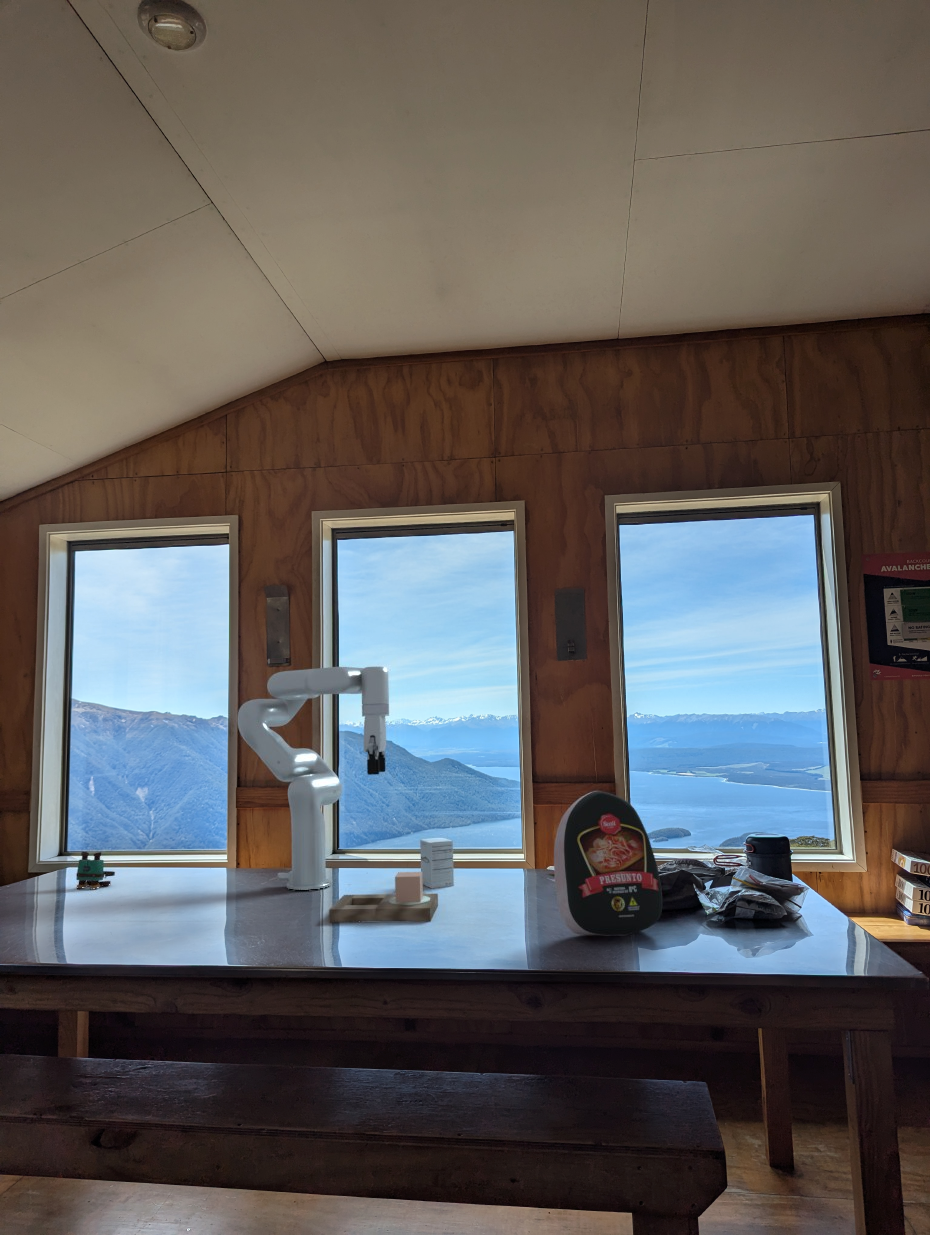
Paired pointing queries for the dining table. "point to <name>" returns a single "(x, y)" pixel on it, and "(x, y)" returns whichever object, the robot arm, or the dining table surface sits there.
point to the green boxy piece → (92, 871)
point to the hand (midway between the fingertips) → (376, 773)
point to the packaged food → (605, 868)
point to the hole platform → (382, 908)
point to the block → (408, 887)
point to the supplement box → (437, 862)
